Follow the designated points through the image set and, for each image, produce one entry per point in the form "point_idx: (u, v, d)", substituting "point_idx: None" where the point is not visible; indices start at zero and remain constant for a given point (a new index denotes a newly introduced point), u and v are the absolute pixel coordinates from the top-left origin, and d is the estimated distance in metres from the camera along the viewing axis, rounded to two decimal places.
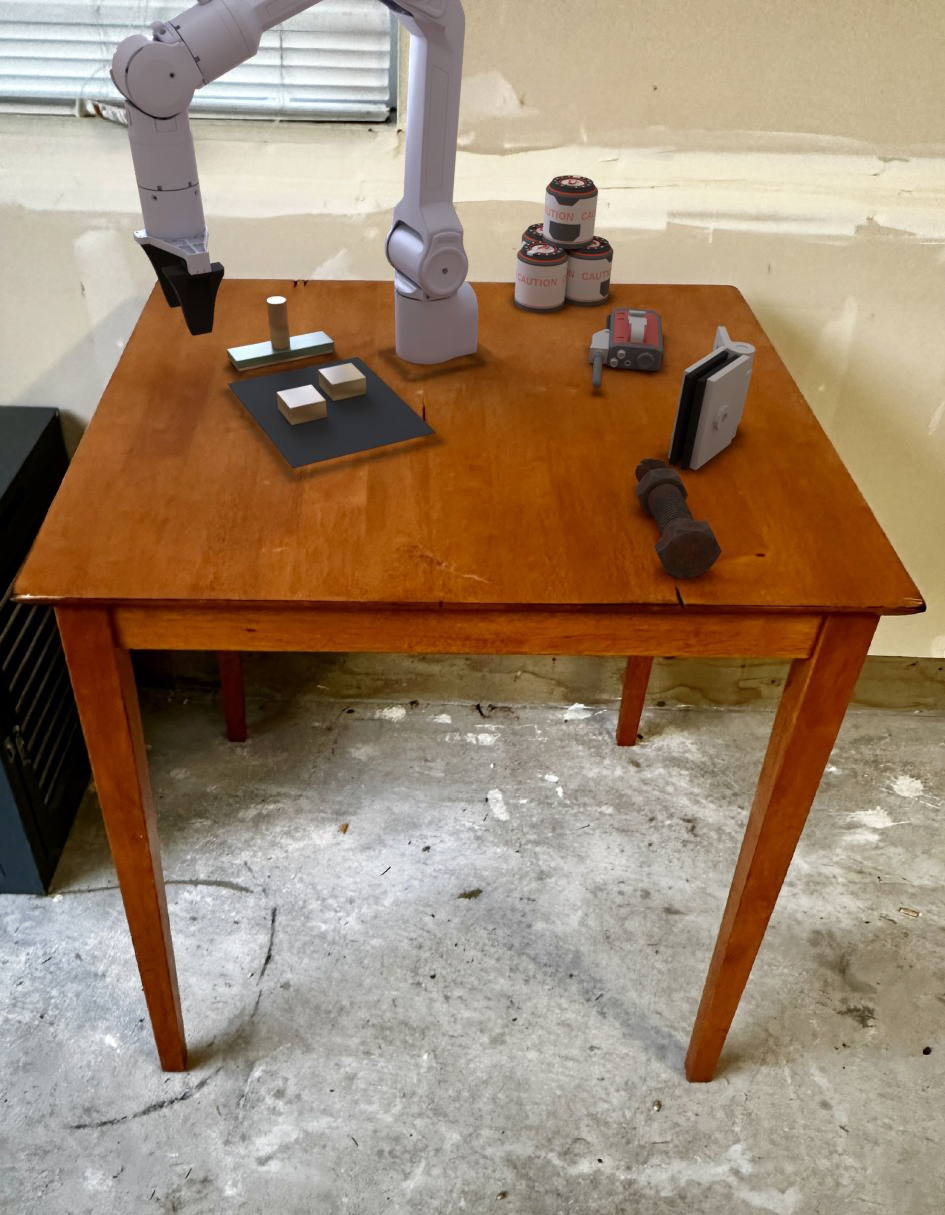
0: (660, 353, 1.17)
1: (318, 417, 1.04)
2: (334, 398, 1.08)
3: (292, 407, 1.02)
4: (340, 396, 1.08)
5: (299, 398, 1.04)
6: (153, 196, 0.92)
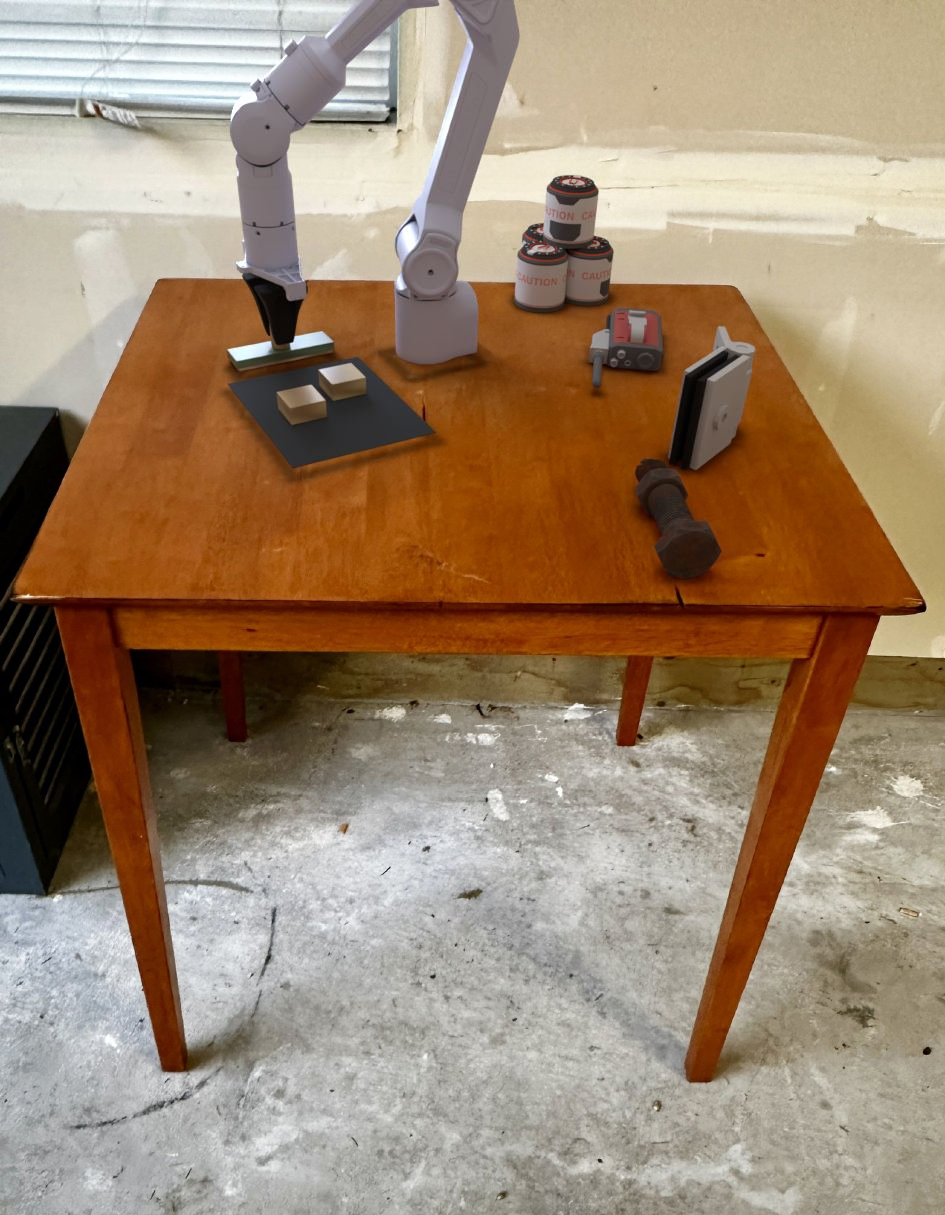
0: (660, 353, 1.17)
1: (318, 417, 1.04)
2: (334, 398, 1.08)
3: (292, 407, 1.02)
4: (340, 396, 1.08)
5: (299, 398, 1.04)
6: (257, 232, 1.04)
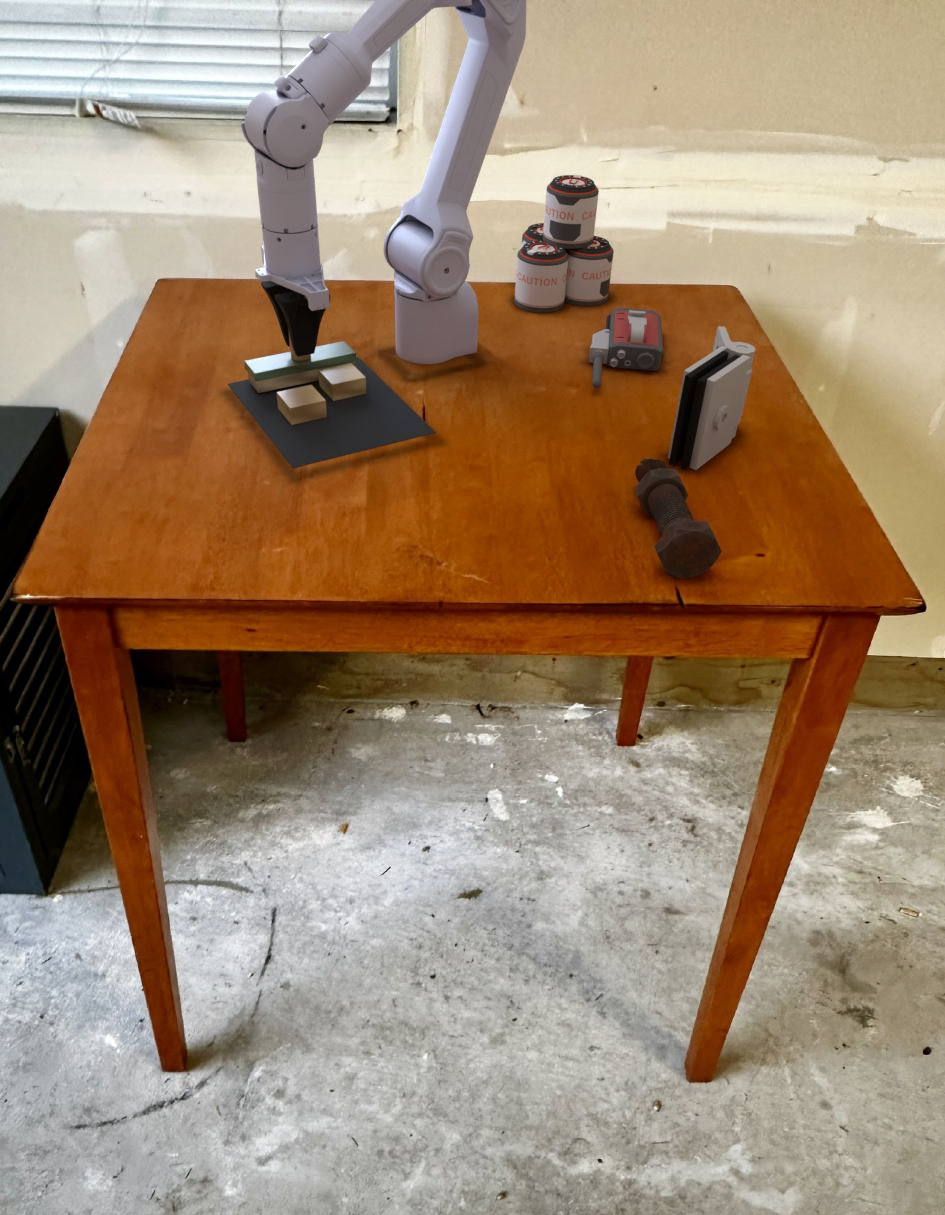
0: (660, 353, 1.17)
1: (318, 417, 1.04)
2: (334, 398, 1.08)
3: (292, 407, 1.02)
4: (340, 396, 1.08)
5: (299, 398, 1.04)
6: (277, 238, 0.99)
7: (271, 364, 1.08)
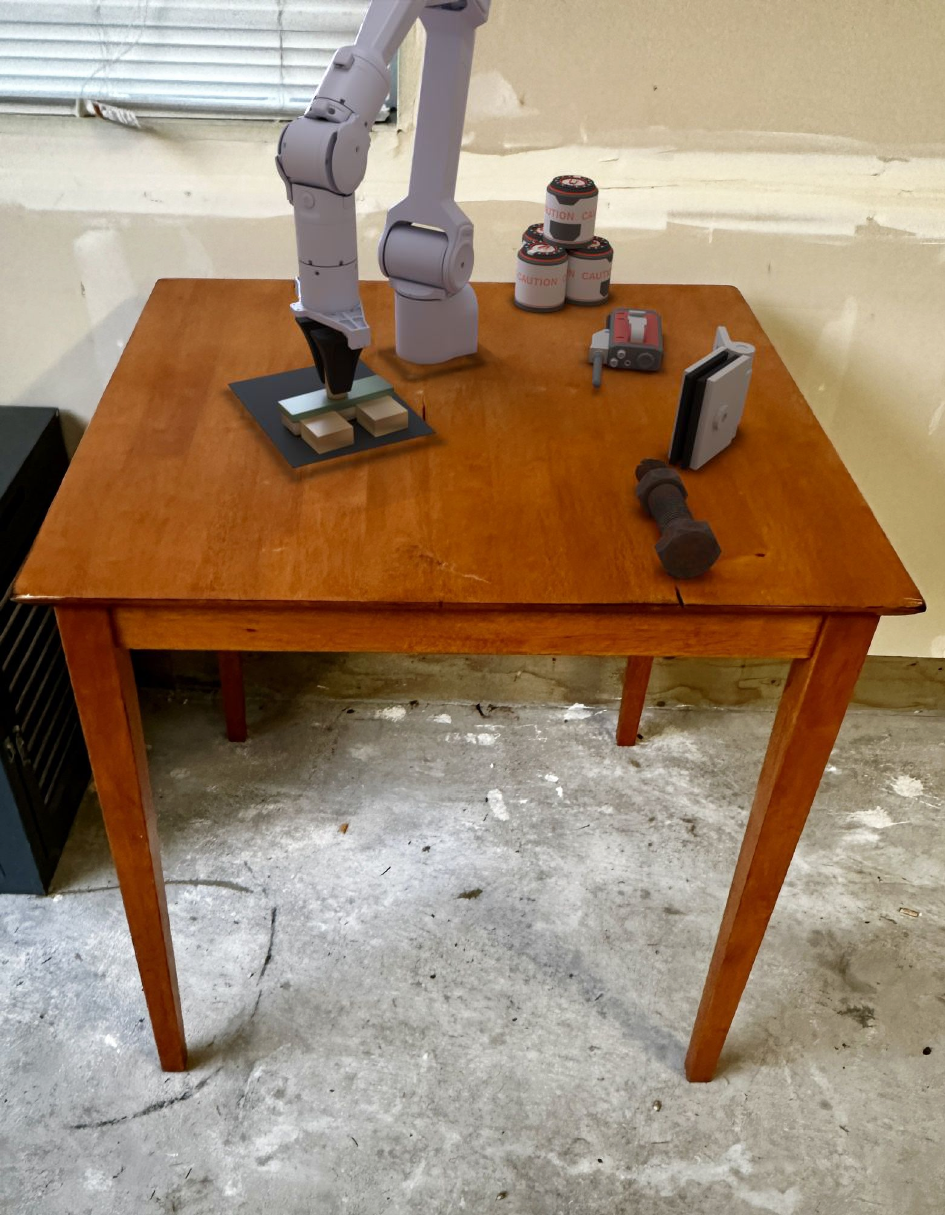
0: (660, 353, 1.17)
1: (345, 444, 1.00)
2: (376, 434, 1.02)
3: (320, 436, 0.98)
4: (382, 432, 1.02)
5: (325, 426, 0.99)
6: (315, 272, 0.92)
7: (307, 404, 1.01)
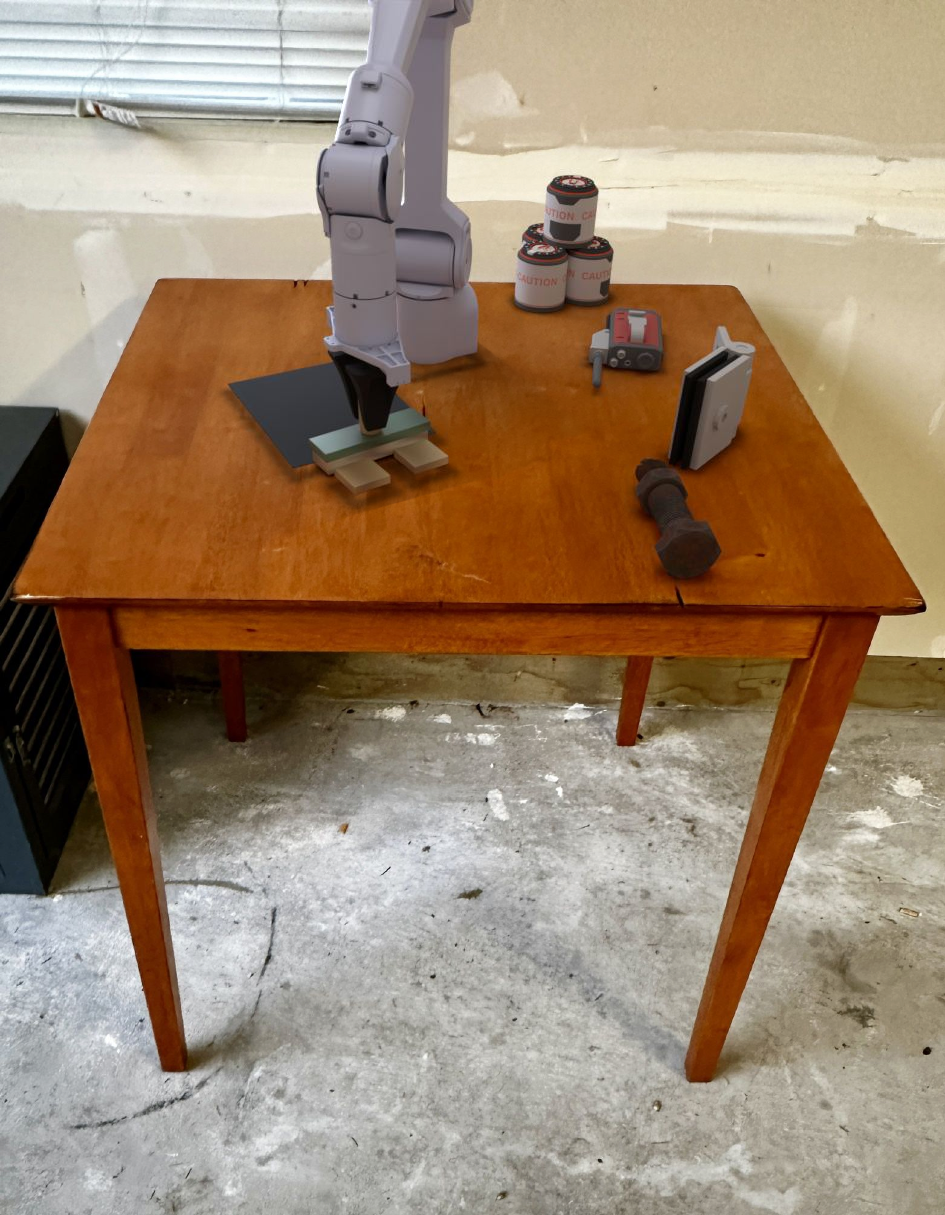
0: (660, 353, 1.17)
1: None
2: None
3: (356, 486, 0.93)
4: None
5: (361, 475, 0.95)
6: (352, 304, 0.87)
7: (341, 441, 0.96)
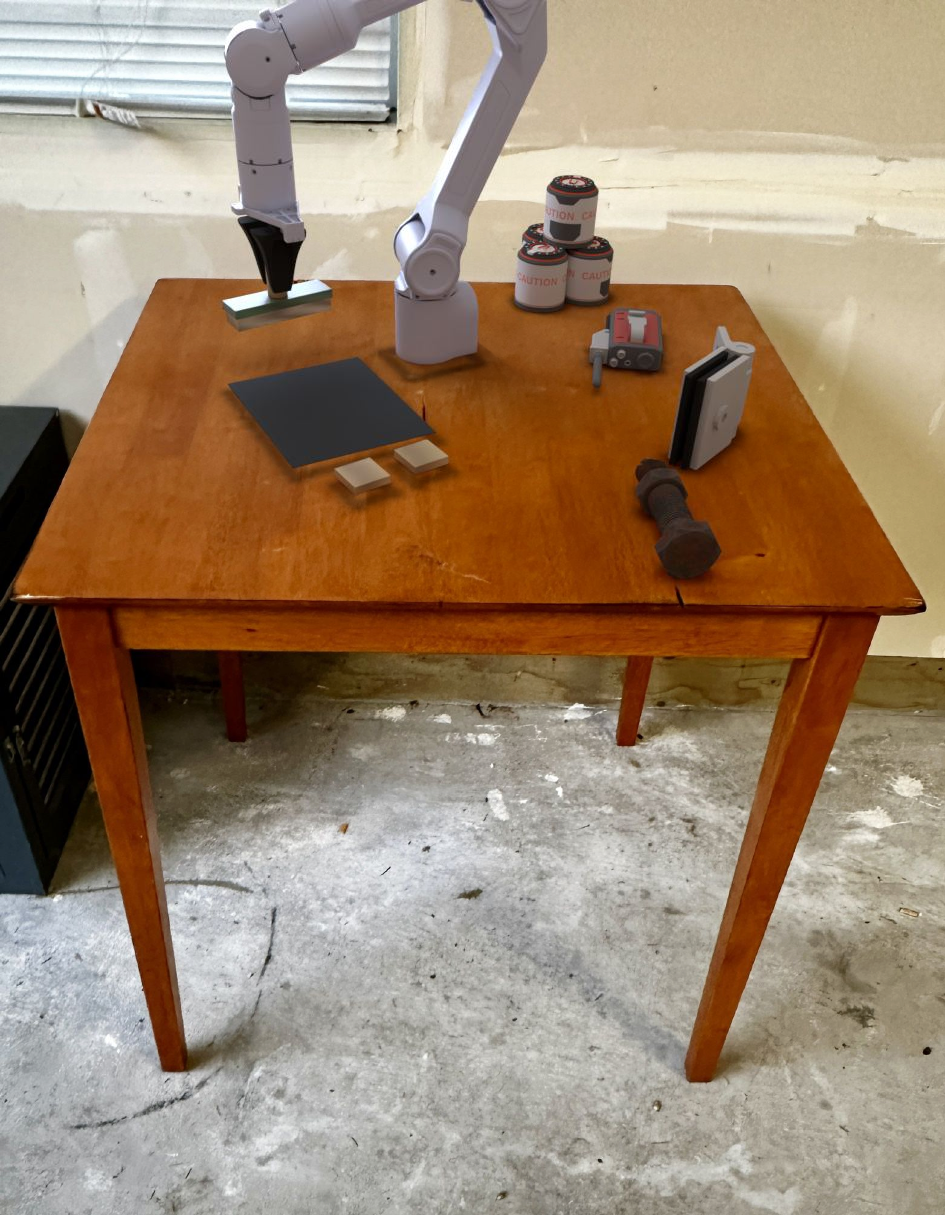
0: (660, 353, 1.17)
1: None
2: None
3: (357, 486, 0.93)
4: None
5: (361, 475, 0.95)
6: (253, 170, 1.00)
7: (250, 302, 1.09)
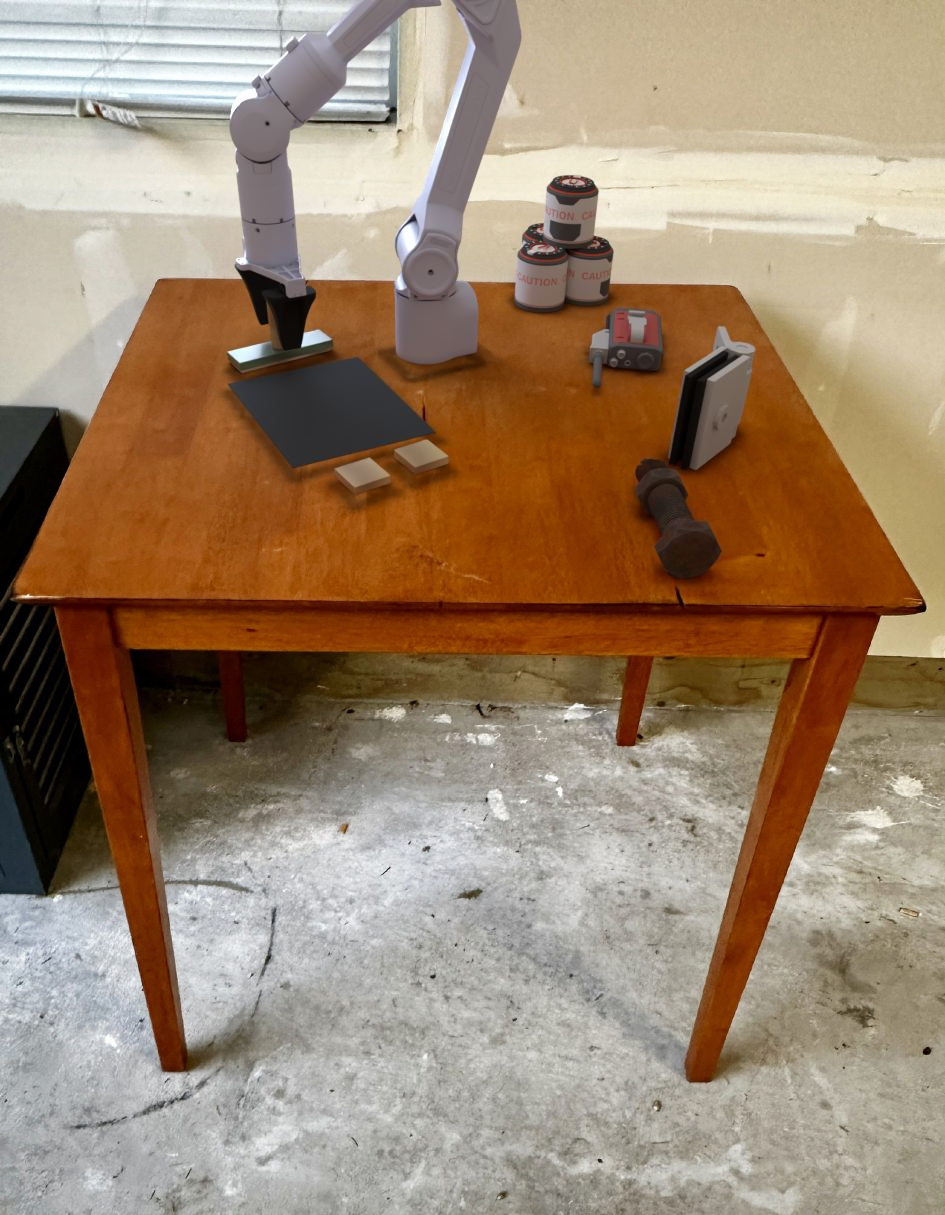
0: (660, 353, 1.17)
1: None
2: None
3: (357, 486, 0.93)
4: None
5: (361, 475, 0.95)
6: (256, 229, 1.04)
7: (253, 354, 1.13)
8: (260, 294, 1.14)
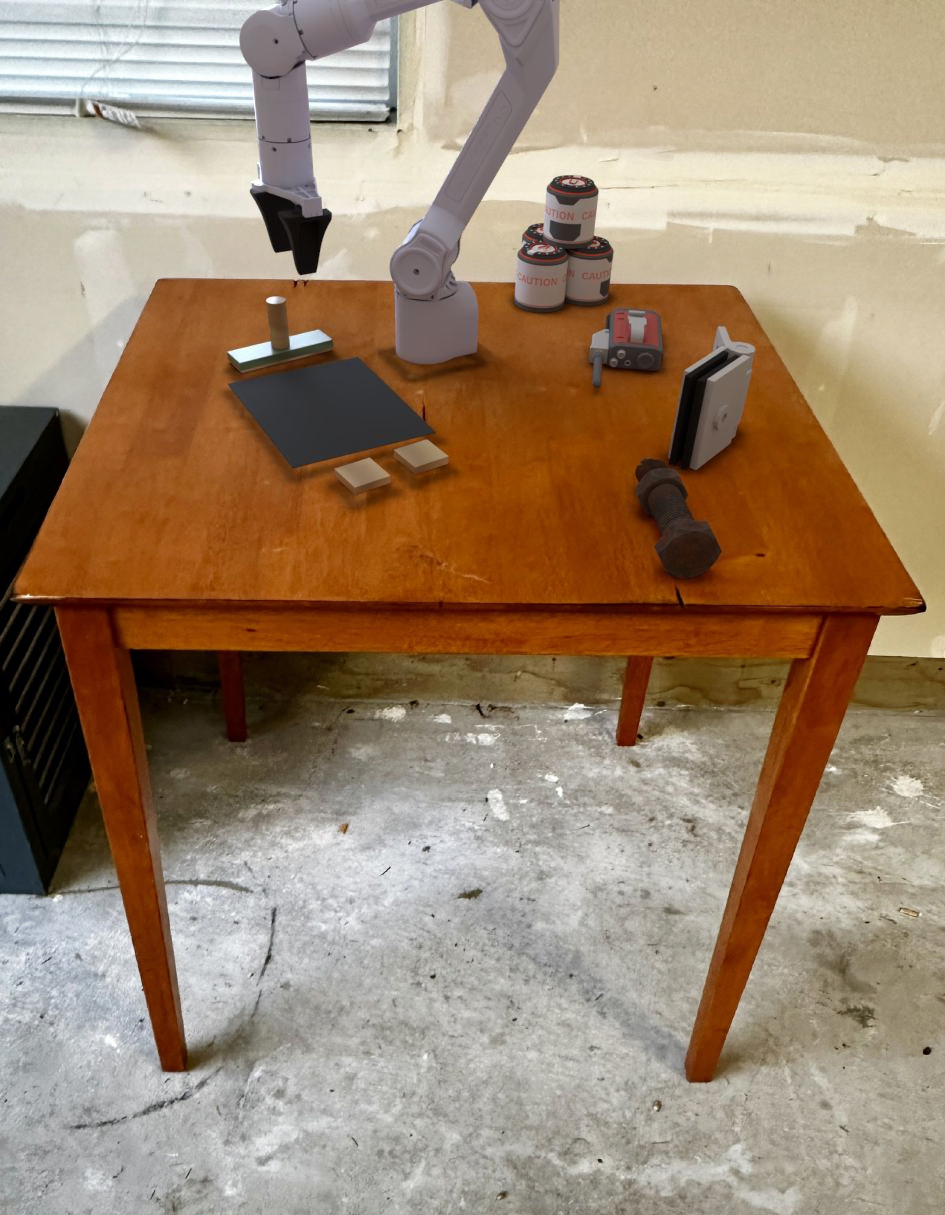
0: (660, 353, 1.17)
1: None
2: None
3: (357, 486, 0.93)
4: None
5: (361, 475, 0.95)
6: (273, 148, 1.04)
7: (253, 354, 1.13)
8: (275, 220, 1.14)
